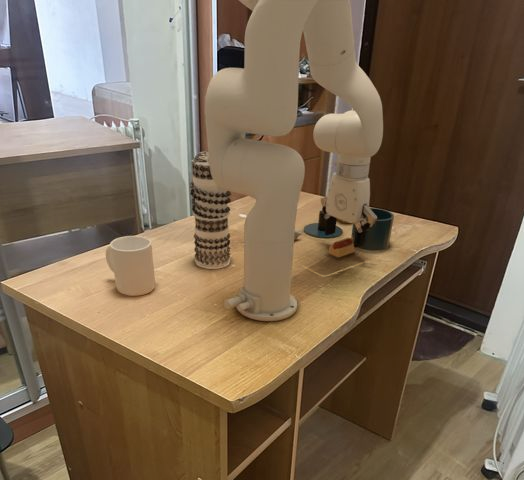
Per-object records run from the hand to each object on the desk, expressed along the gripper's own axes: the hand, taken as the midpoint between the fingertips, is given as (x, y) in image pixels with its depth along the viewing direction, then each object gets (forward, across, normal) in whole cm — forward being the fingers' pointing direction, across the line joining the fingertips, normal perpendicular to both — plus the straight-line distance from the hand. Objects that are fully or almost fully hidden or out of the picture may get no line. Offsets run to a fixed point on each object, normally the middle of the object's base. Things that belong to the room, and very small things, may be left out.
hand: (343, 239), depth 123 cm
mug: (+3, -15, -52) cm, 54 cm away
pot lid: (+3, -13, +6) cm, 15 cm away
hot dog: (+4, 0, 0) cm, 4 cm away
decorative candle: (+4, -15, -30) cm, 33 cm away
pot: (+4, 0, +10) cm, 11 cm away
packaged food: (+4, -14, -10) cm, 18 cm away
